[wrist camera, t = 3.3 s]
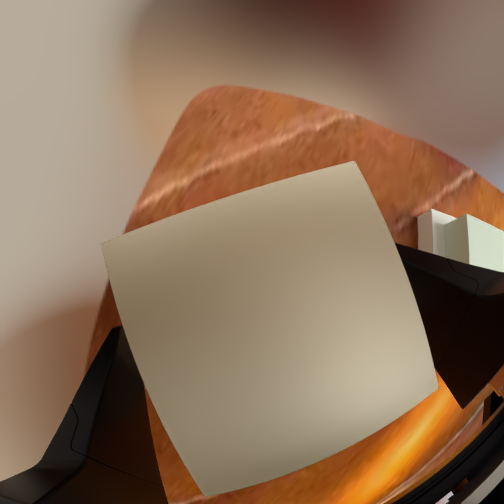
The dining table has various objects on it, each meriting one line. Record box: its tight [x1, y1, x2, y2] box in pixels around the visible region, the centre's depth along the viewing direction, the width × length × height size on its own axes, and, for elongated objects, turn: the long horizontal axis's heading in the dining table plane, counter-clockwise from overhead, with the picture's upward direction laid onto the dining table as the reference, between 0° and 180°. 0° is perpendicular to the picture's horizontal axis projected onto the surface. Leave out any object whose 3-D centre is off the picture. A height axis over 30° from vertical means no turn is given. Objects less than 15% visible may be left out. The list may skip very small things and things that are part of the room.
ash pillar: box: [101, 161, 438, 497], centre depth 10 cm, size 5×5×12 cm
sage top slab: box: [445, 214, 504, 272], centre depth 14 cm, size 8×8×2 cm
